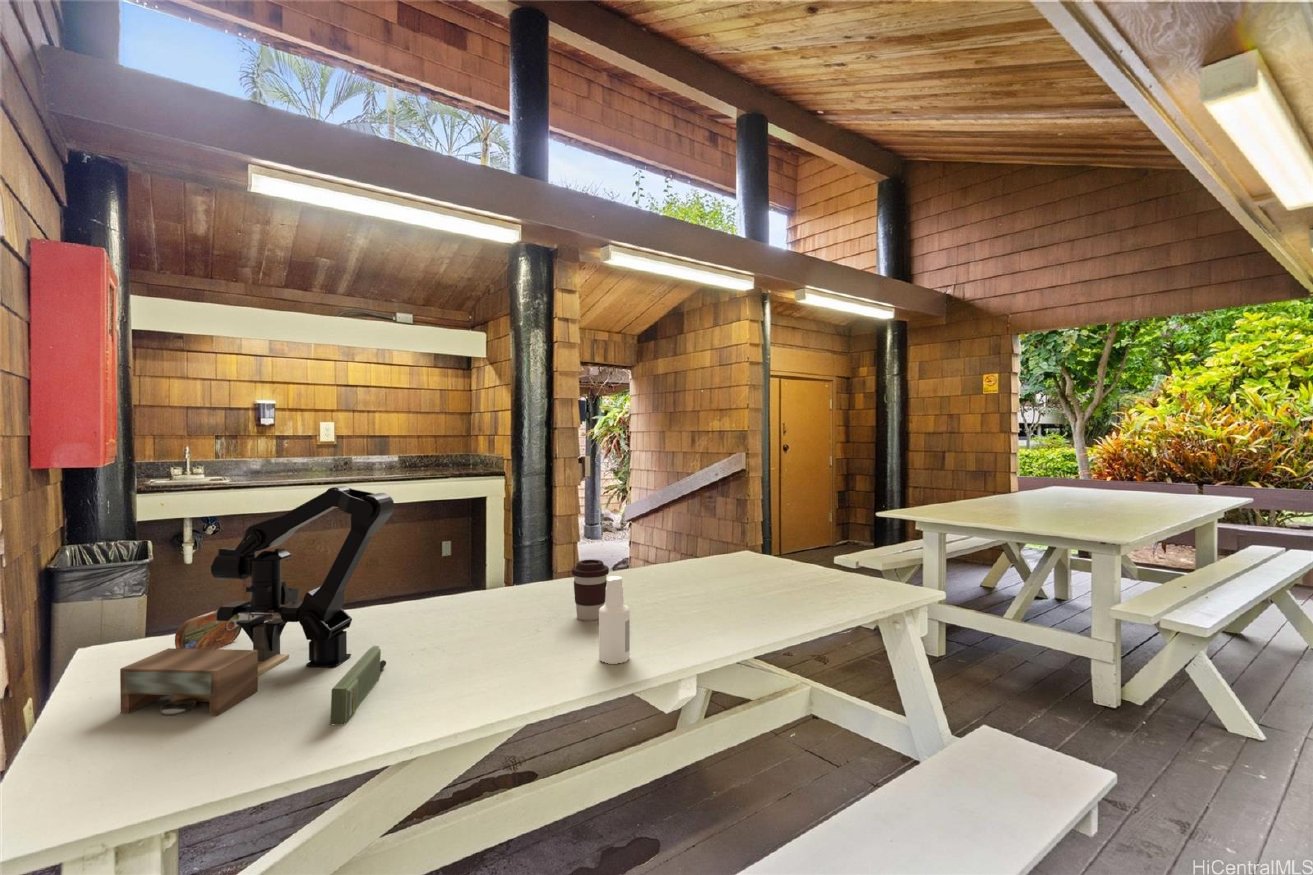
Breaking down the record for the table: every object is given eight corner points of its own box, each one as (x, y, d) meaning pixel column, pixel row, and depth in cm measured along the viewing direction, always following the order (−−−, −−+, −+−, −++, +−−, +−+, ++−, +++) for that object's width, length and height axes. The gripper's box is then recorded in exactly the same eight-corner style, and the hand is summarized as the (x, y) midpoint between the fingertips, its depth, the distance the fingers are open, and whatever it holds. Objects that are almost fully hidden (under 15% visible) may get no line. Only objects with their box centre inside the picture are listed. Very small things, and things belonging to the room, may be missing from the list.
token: (202, 705, 111) (202, 698, 111) (180, 718, 106) (180, 711, 106) (176, 704, 111) (176, 698, 111) (153, 717, 106) (153, 710, 106)
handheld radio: (326, 727, 103) (374, 669, 128) (346, 726, 103) (390, 669, 128) (328, 688, 103) (375, 637, 128) (348, 688, 103) (391, 637, 128)
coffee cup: (606, 623, 158) (606, 566, 157) (569, 623, 158) (569, 566, 157) (610, 611, 167) (610, 558, 167) (574, 611, 168) (574, 557, 167)
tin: (183, 662, 131) (183, 623, 131) (171, 661, 132) (171, 622, 132) (243, 638, 146) (243, 604, 146) (232, 637, 146) (232, 603, 146)
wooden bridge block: (257, 691, 116) (257, 650, 116) (216, 716, 106) (216, 671, 106) (168, 689, 117) (168, 648, 117) (119, 714, 107) (118, 669, 107)
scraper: (292, 656, 134) (291, 620, 134) (212, 702, 112) (212, 659, 112) (257, 655, 135) (257, 620, 134) (171, 701, 112) (170, 658, 112)
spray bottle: (636, 658, 133) (636, 577, 133) (613, 667, 128) (613, 583, 128) (615, 650, 138) (615, 572, 138) (592, 659, 133) (592, 578, 133)
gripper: (329, 571, 139) (329, 638, 139) (251, 570, 140) (252, 636, 140) (298, 583, 128) (298, 656, 128) (214, 582, 129) (214, 654, 129)
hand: (266, 650), depth 132 cm, fingers closed on scraper, 2 cm apart
